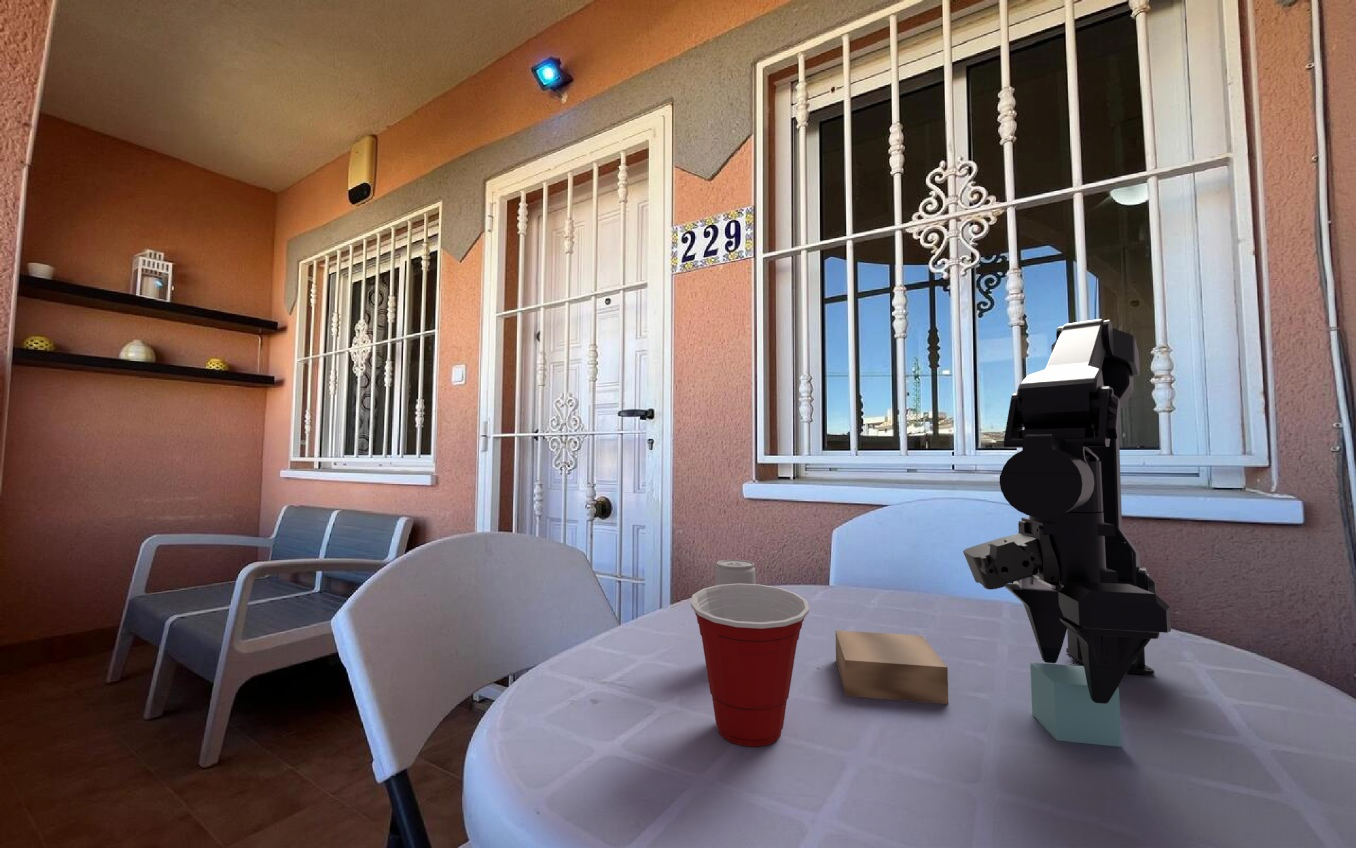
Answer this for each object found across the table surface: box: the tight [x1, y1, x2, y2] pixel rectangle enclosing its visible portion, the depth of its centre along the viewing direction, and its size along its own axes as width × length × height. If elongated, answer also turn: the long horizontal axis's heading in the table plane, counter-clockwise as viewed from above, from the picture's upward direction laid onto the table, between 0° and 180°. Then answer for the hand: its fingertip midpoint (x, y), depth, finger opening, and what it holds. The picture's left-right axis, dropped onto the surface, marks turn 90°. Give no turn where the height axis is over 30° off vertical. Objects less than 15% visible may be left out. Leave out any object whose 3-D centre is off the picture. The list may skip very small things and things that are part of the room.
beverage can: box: [715, 559, 756, 586], centre depth 66 cm, size 5×5×12 cm
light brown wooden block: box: [834, 630, 949, 705], centre depth 61 cm, size 10×10×4 cm
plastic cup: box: [689, 583, 811, 748], centre depth 49 cm, size 11×11×12 cm
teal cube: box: [1029, 662, 1123, 748], centre depth 50 cm, size 5×5×5 cm
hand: (1072, 680), depth 50 cm, fingers open, 9 cm apart
